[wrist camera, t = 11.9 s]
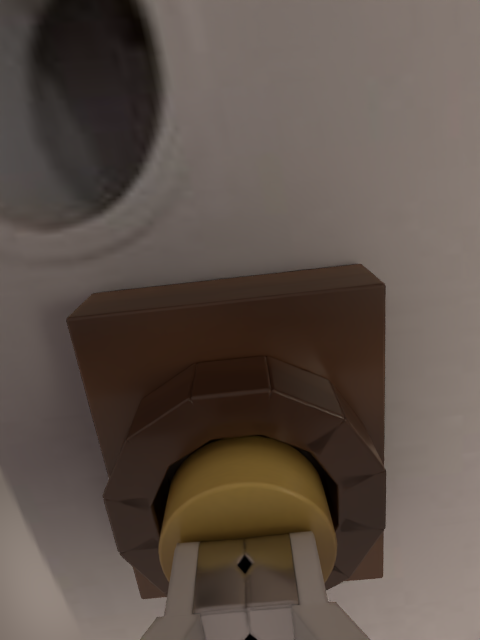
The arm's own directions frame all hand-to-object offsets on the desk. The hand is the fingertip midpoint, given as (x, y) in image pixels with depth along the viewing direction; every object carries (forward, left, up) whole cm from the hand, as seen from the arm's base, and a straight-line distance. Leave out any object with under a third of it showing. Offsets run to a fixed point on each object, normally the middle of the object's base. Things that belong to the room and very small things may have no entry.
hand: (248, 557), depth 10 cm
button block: (0, 0, -5) cm, 5 cm away
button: (0, 0, -2) cm, 2 cm away
